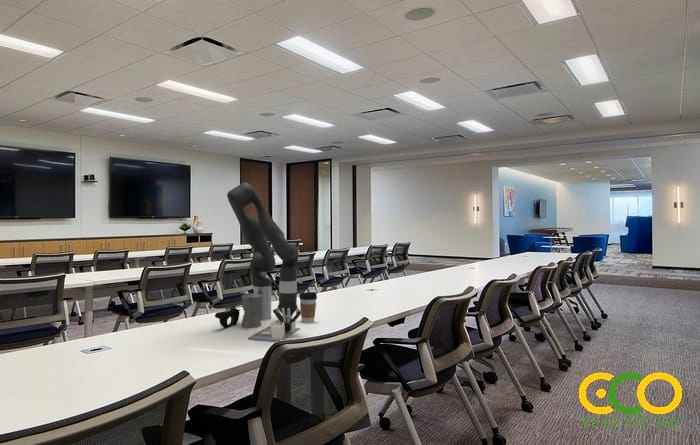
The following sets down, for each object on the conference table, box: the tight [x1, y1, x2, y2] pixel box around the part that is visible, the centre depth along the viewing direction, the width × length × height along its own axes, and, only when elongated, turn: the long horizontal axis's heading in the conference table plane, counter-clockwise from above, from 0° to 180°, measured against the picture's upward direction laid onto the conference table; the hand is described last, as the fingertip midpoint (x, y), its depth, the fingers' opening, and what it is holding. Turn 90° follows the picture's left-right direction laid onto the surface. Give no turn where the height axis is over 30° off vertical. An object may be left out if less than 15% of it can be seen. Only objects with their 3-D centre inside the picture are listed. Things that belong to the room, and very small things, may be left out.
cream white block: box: [269, 319, 284, 334], centre depth 189 cm, size 4×4×6 cm
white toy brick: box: [272, 324, 285, 339], centre depth 182 cm, size 4×4×6 cm
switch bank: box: [246, 325, 301, 343], centre depth 189 cm, size 14×24×2 cm, turn 167°
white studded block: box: [290, 317, 297, 331], centre depth 194 cm, size 4×4×6 cm
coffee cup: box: [299, 291, 318, 324], centre depth 213 cm, size 8×8×15 cm
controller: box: [214, 304, 241, 329], centre depth 202 cm, size 4×12×10 cm, turn 145°
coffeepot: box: [241, 288, 262, 329], centre depth 203 cm, size 15×9×18 cm, turn 8°
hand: (287, 331), depth 188 cm, fingers closed
